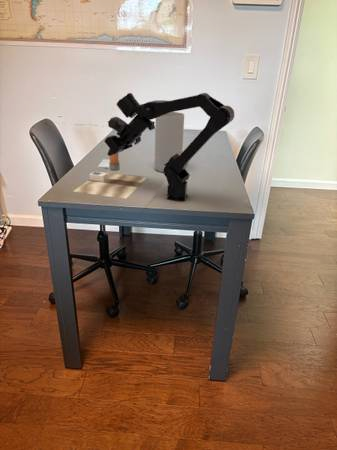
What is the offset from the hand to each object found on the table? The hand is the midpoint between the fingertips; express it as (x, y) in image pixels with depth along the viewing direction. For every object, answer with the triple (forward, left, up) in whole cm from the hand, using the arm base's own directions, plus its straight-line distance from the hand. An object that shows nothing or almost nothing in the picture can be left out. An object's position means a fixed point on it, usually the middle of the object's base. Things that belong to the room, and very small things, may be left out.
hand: (110, 153), depth 131 cm
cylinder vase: (-16, -28, -13) cm, 35 cm away
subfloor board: (-1, +3, -13) cm, 13 cm away
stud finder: (+6, 0, -11) cm, 13 cm away
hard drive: (+12, -24, -14) cm, 30 cm away
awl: (-1, 0, -6) cm, 6 cm away
